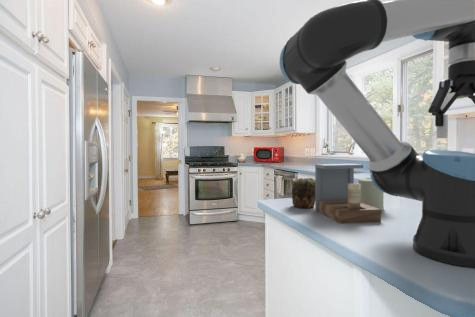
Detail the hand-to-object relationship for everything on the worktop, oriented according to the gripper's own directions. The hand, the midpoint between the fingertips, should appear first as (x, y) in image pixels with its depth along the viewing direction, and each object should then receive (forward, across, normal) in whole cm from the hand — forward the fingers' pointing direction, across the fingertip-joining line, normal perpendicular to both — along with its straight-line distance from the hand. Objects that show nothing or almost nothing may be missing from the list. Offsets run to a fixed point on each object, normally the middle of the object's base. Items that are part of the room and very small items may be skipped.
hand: (463, 138), depth 77 cm
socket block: (+27, +24, -21) cm, 42 cm away
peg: (+27, +24, -16) cm, 39 cm away
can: (+27, +9, -30) cm, 41 cm away
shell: (+27, +33, -38) cm, 57 cm away
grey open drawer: (+27, +24, -27) cm, 45 cm away
